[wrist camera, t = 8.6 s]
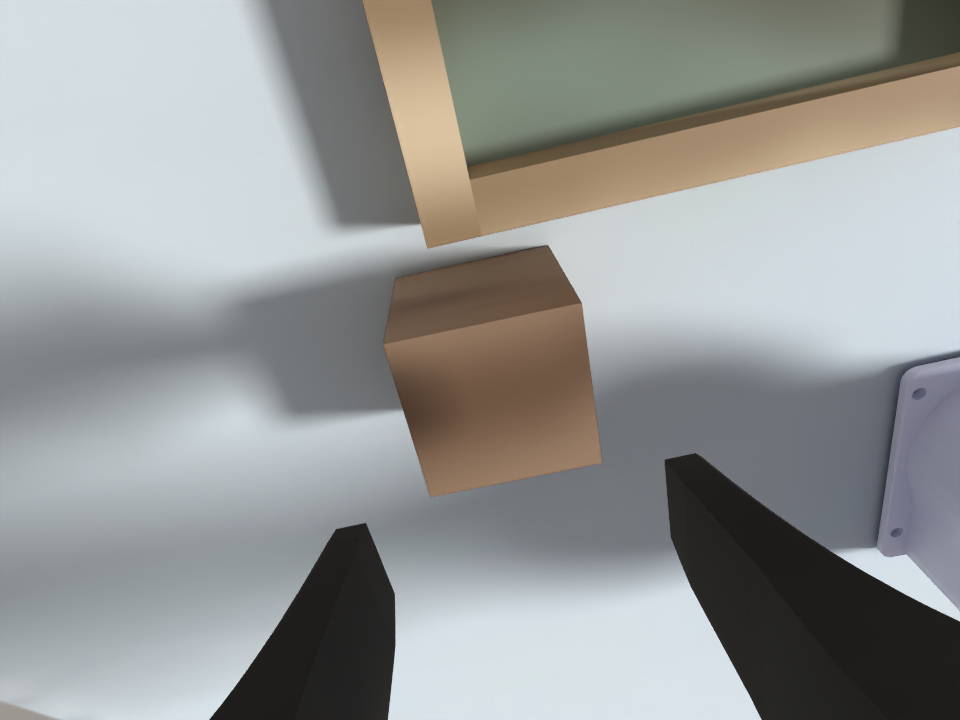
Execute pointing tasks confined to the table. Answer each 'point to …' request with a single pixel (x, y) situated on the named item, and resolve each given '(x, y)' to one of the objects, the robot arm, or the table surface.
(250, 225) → the table surface
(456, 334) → the walnut cube
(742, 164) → the wooden frame
